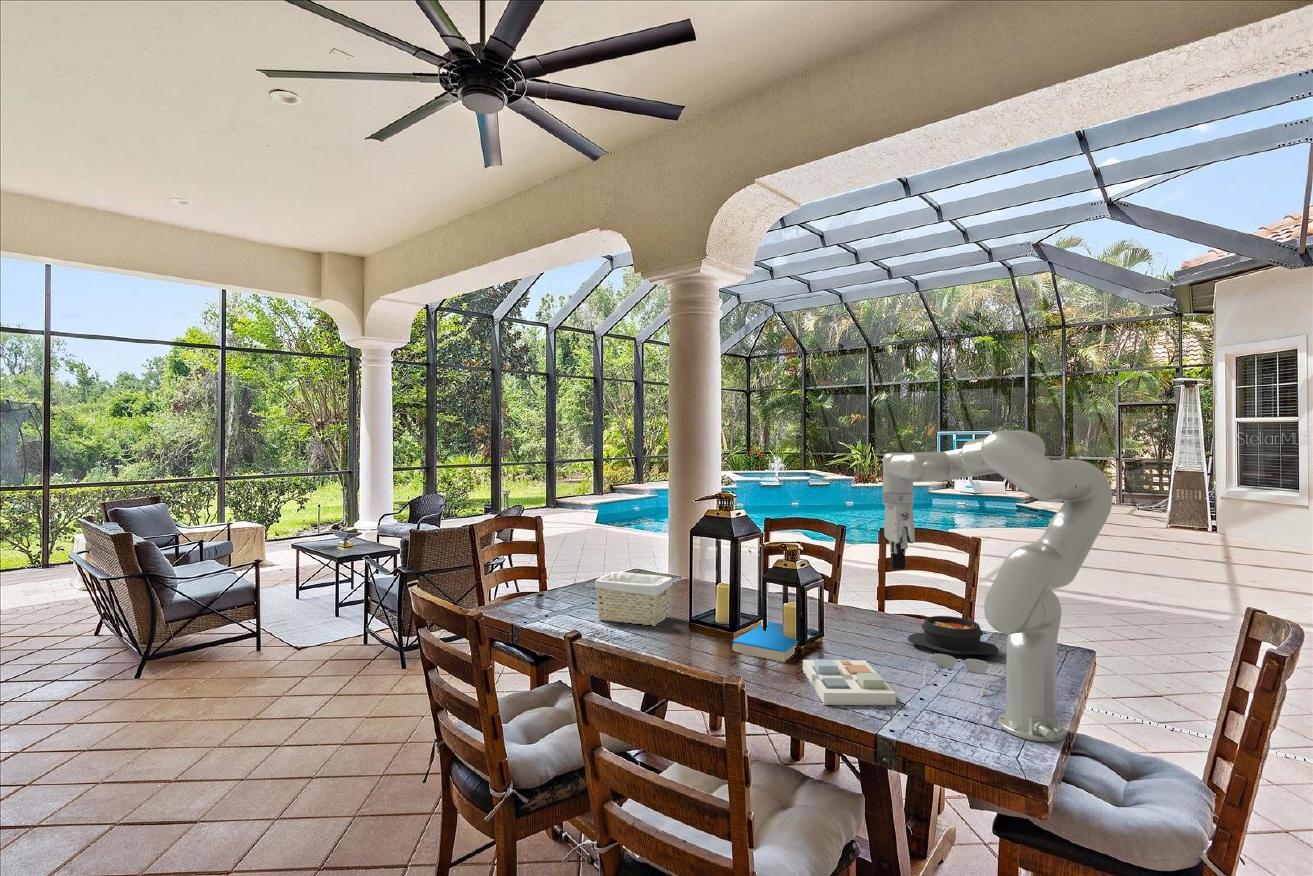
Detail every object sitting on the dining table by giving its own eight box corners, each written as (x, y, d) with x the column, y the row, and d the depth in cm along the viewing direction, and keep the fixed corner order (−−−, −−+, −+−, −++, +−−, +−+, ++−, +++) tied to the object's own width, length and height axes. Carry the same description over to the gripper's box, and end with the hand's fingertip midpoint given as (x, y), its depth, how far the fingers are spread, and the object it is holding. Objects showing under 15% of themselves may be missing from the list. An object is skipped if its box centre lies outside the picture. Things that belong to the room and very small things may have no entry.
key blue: (838, 675, 165) (838, 666, 165) (818, 675, 165) (818, 666, 165) (832, 669, 170) (832, 659, 170) (813, 668, 170) (814, 659, 170)
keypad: (895, 706, 152) (895, 692, 152) (823, 705, 152) (823, 691, 152) (865, 671, 175) (865, 659, 175) (802, 670, 175) (802, 658, 175)
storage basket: (673, 617, 229) (674, 575, 229) (657, 629, 214) (657, 585, 214) (613, 610, 238) (613, 570, 238) (593, 622, 222) (593, 579, 223)
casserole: (1000, 648, 195) (1000, 621, 195) (996, 666, 179) (996, 636, 179) (913, 635, 208) (913, 609, 208) (902, 651, 192) (902, 623, 192)
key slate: (848, 696, 155) (848, 685, 155) (828, 695, 155) (828, 685, 155) (843, 688, 160) (843, 678, 160) (822, 688, 160) (822, 677, 160)
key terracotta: (871, 681, 165) (871, 671, 165) (851, 681, 165) (851, 671, 165) (865, 674, 170) (865, 665, 170) (846, 674, 170) (846, 665, 170)
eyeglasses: (991, 676, 173) (991, 661, 173) (987, 700, 157) (987, 683, 157) (930, 666, 181) (930, 652, 181) (919, 687, 165) (919, 672, 165)
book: (815, 629, 202) (785, 649, 181) (815, 643, 202) (785, 665, 181) (764, 620, 212) (731, 639, 191) (764, 634, 212) (730, 653, 191)
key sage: (884, 690, 155) (884, 680, 155) (863, 690, 155) (863, 680, 155) (877, 682, 160) (877, 672, 160) (857, 682, 160) (857, 672, 160)
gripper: (923, 501, 163) (923, 574, 163) (901, 496, 178) (901, 563, 178) (893, 501, 163) (893, 574, 163) (874, 496, 178) (874, 563, 178)
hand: (897, 568), depth 170 cm, fingers closed
